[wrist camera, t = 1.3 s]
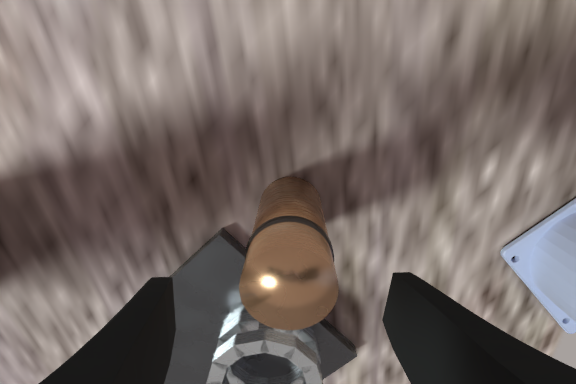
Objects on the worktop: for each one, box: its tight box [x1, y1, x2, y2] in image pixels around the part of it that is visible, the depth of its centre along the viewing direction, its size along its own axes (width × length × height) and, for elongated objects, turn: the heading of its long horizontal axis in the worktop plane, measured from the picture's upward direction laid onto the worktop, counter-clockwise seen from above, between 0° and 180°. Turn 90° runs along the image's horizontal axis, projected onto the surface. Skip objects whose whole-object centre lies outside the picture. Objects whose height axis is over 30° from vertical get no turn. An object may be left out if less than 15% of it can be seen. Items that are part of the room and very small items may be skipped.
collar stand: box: [164, 228, 357, 384], centre depth 24 cm, size 14×13×4 cm
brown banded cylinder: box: [239, 177, 338, 330], centre depth 17 cm, size 4×4×9 cm
